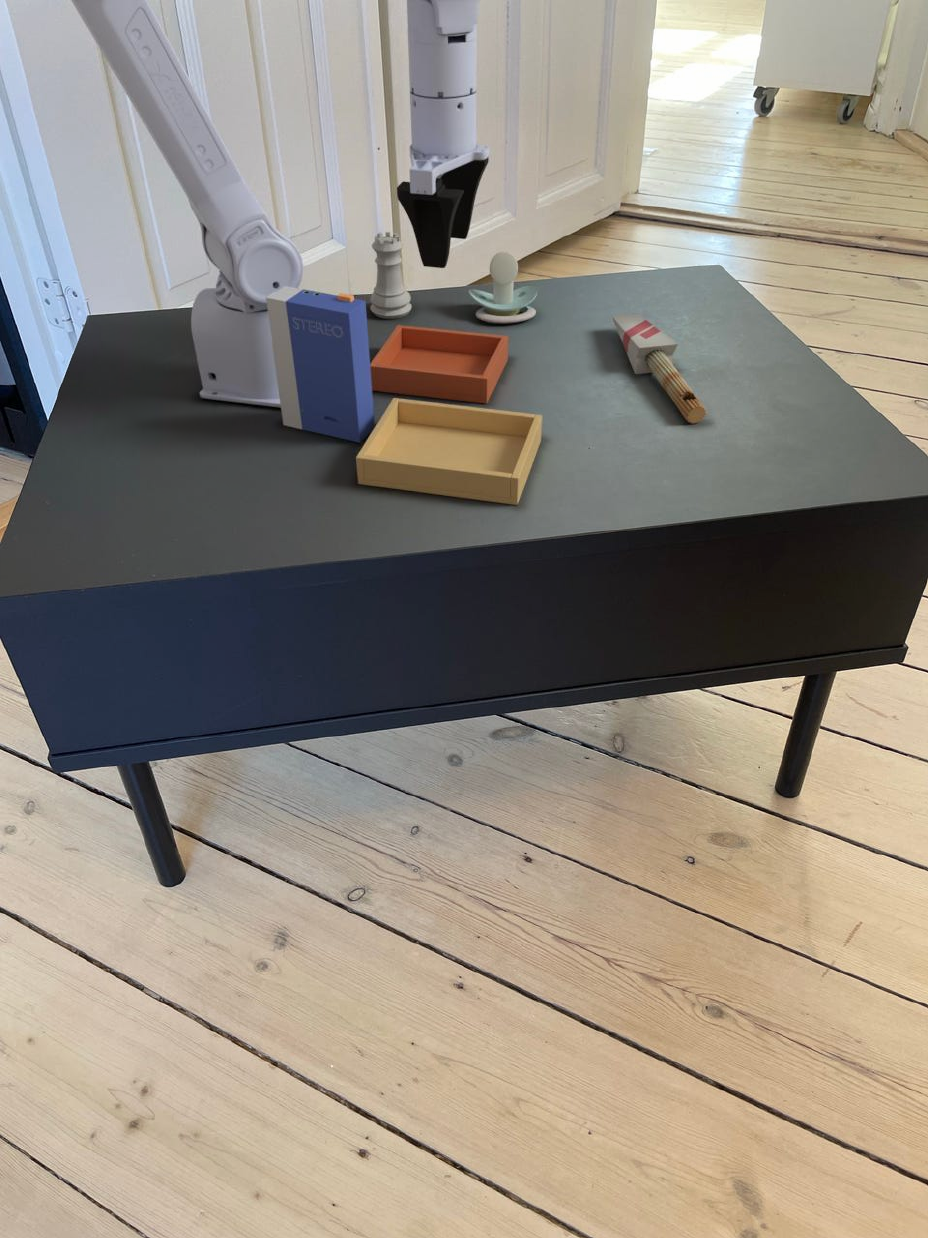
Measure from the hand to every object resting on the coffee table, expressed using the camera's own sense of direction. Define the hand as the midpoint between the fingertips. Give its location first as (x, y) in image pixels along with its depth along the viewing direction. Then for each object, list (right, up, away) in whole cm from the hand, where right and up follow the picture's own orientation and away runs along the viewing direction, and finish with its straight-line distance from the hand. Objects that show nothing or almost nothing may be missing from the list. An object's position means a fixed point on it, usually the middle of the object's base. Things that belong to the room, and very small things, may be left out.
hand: (445, 250), depth 92 cm
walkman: (-10, -18, -6) cm, 21 cm away
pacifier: (+6, -2, +12) cm, 14 cm away
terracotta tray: (-1, -11, +2) cm, 11 cm away
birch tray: (+1, -21, -10) cm, 24 cm away
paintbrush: (+20, -11, +2) cm, 23 cm away
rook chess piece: (-6, -2, +13) cm, 15 cm away
